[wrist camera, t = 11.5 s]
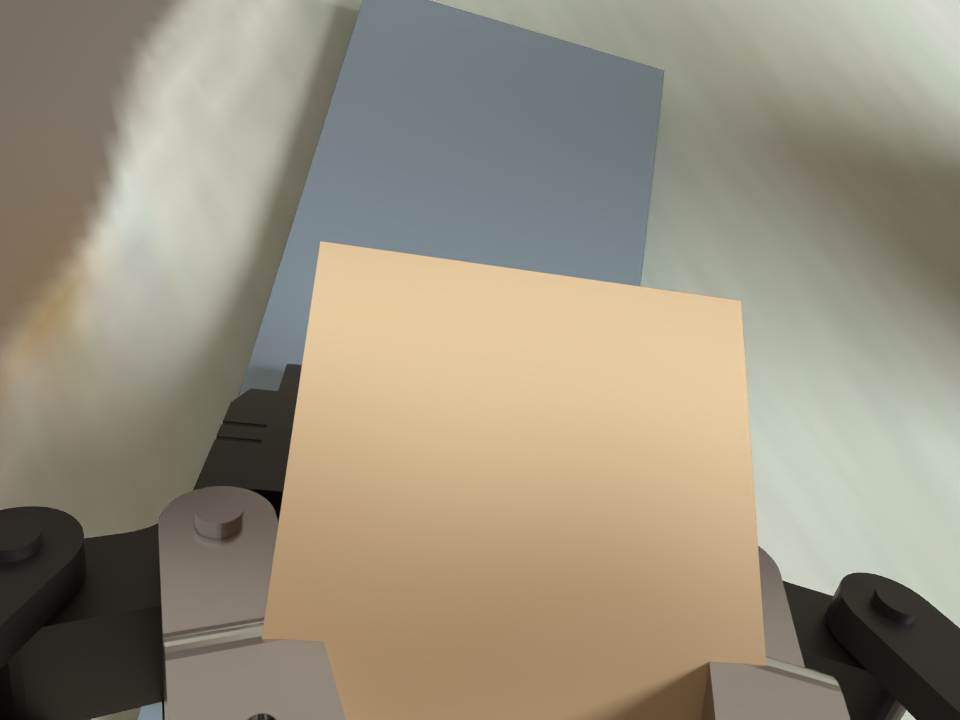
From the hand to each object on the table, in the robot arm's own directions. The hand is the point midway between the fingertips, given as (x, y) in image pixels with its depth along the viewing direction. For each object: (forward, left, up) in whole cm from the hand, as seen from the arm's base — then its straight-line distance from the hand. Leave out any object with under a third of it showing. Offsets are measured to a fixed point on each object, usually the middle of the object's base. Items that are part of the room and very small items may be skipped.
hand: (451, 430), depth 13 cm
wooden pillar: (+2, +1, -4) cm, 5 cm away
